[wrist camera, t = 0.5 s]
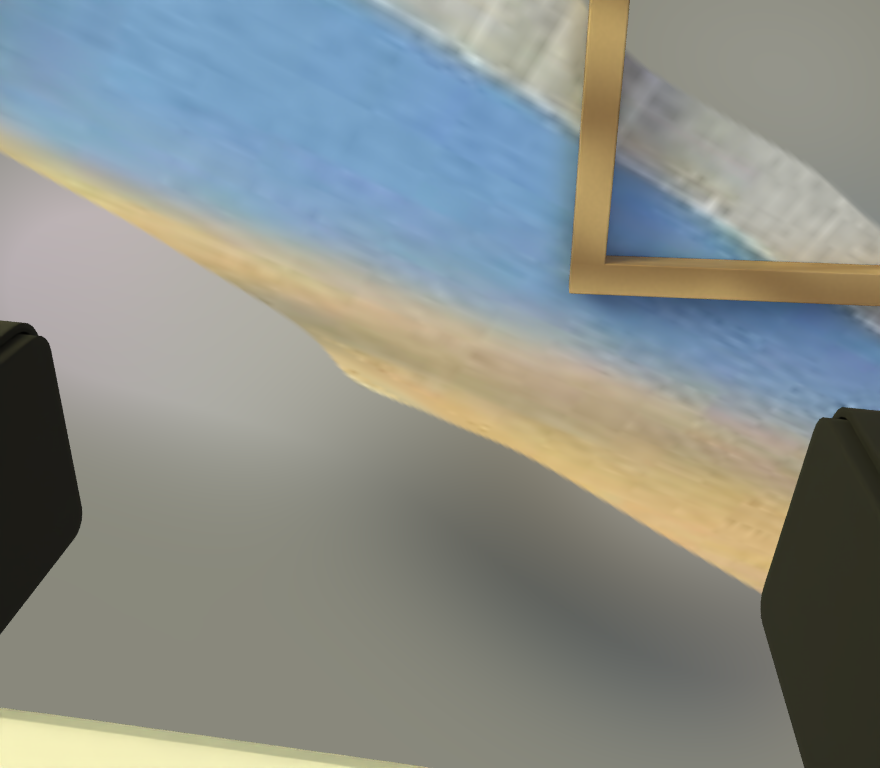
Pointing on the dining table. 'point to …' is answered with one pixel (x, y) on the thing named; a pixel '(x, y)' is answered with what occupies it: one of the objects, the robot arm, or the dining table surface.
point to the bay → (658, 273)
